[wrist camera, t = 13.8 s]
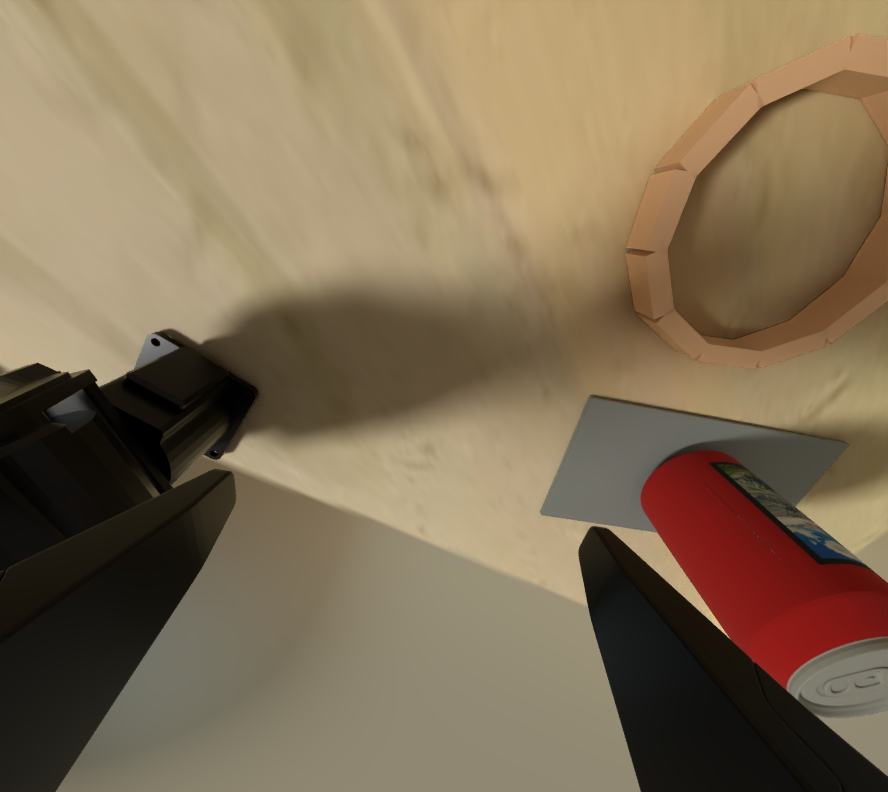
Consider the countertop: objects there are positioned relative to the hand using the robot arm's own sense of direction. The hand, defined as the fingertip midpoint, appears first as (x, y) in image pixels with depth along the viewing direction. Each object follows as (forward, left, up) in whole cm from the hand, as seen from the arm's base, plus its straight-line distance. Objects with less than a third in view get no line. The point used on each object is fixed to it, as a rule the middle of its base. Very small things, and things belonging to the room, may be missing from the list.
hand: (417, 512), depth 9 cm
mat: (+3, -20, -13) cm, 24 cm away
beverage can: (+3, -20, -13) cm, 24 cm away
